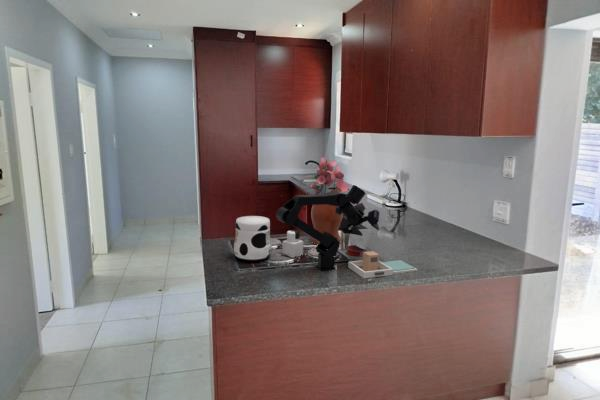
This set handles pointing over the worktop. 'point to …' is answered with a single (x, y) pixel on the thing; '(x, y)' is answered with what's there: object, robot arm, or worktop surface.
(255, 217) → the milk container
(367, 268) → the block
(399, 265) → the lid
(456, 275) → the worktop surface
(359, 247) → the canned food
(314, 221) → the potted flower
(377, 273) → the pale grey square frame
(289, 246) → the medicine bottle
